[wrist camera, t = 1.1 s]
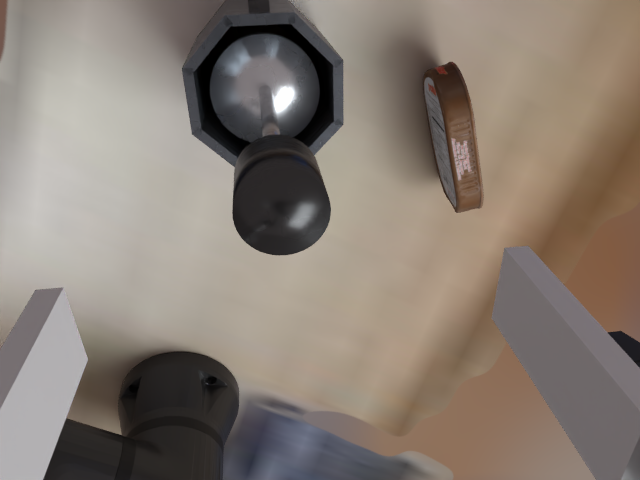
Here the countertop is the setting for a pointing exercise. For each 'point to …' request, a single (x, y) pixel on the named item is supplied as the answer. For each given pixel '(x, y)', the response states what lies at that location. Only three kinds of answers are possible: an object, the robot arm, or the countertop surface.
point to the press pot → (247, 18)
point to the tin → (453, 136)
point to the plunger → (272, 142)
